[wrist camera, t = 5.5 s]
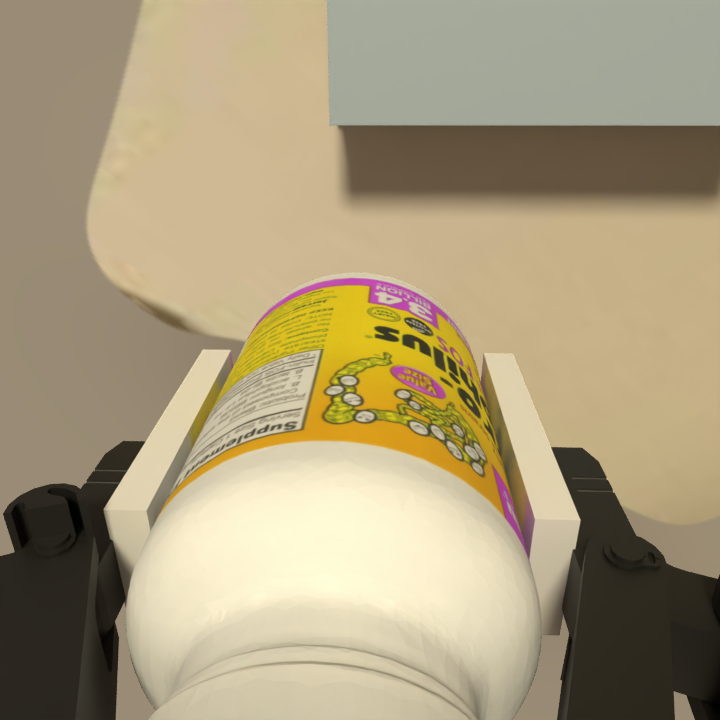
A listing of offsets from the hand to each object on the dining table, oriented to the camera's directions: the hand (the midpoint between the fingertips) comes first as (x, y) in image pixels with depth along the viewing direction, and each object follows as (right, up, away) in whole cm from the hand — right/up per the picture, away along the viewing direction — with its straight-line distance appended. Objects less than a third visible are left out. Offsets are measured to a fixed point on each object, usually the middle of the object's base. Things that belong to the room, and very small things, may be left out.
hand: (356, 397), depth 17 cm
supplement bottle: (0, +1, +2) cm, 2 cm away
